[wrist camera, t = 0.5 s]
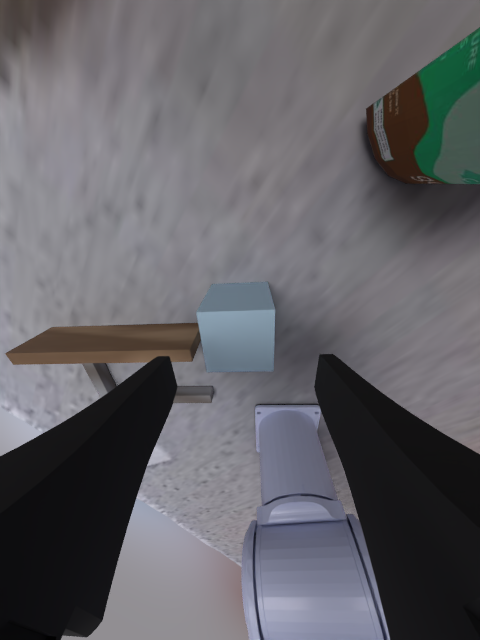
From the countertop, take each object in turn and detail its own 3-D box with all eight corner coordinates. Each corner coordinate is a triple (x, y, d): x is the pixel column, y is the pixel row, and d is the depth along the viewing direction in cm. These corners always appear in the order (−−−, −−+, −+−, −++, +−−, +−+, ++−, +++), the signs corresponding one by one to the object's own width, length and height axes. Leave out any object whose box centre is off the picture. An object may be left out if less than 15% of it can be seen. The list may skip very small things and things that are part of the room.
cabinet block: (267, 336, 20) (273, 379, 15) (218, 338, 21) (208, 380, 15) (267, 281, 18) (275, 309, 12) (212, 284, 18) (196, 312, 13)
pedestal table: (213, 393, 24) (206, 428, 20) (89, 394, 25) (59, 427, 21) (201, 322, 20) (189, 349, 16) (51, 327, 21) (5, 353, 17)
